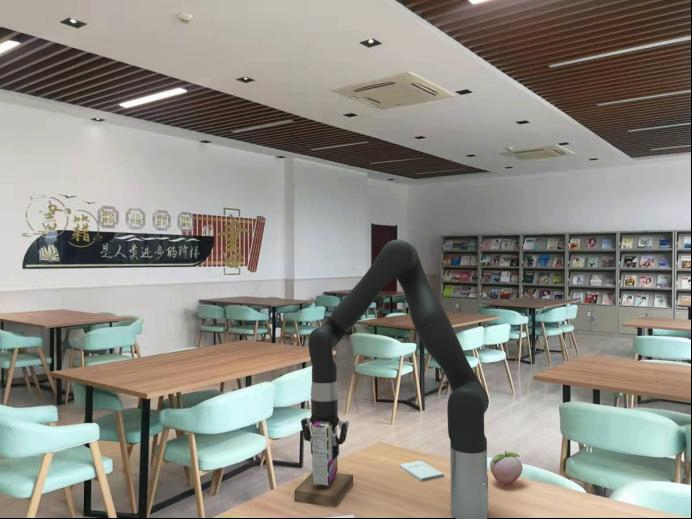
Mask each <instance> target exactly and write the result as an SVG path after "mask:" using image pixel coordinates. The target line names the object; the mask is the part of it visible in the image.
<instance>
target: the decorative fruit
mask: <svg viewBox="0 0 692 519" xmlns="http://www.w3.org/2000/svg"><path fill="white" fill-rule="evenodd" d="M518 457H519V458H521V455H519V454H518V453H516V452H513V451H512V452H511V451H509V452H507V450H505V451H504V452H502V453H497V454H495V455H494V456H493V457H492V458H491V459H490V463H489V468H490V472H491V475H492V476H493V478H494V479H495V480H496V481H497V482H498V483H500V484H503V485H504V486H508V485H511V484H513V483H514V482H517V480H518V479H519V478H520V476H521V475H522V473H523V464H522V461H521V460H520V459H519V458H518Z"/></svg>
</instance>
